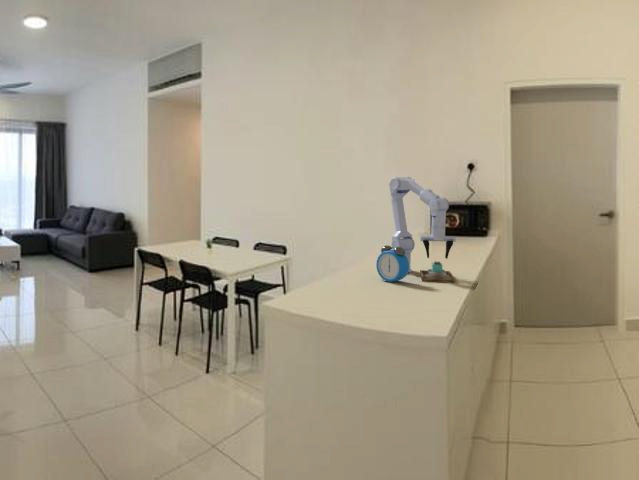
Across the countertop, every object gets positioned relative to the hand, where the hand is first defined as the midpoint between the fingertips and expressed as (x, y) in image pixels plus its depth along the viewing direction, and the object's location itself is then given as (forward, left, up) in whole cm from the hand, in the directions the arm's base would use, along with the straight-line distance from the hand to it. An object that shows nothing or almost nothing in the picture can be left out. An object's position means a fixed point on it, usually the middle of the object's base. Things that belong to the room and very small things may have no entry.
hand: (437, 257), depth 194 cm
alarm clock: (-19, -7, -10) cm, 22 cm away
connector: (0, 0, -9) cm, 9 cm away
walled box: (0, +1, -9) cm, 10 cm away
